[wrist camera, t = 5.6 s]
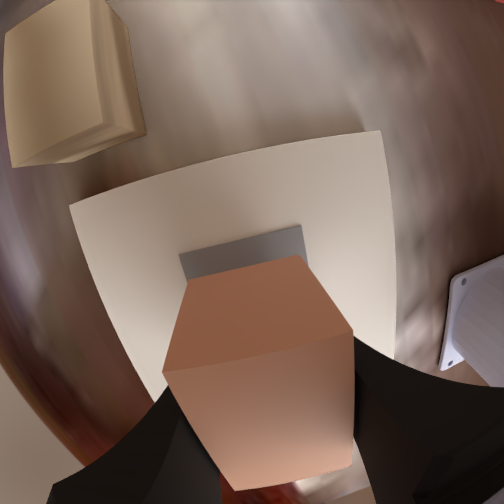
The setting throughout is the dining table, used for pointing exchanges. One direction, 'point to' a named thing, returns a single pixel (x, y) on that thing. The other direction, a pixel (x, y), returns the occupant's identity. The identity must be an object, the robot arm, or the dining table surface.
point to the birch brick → (69, 84)
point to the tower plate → (245, 237)
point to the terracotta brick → (265, 373)
